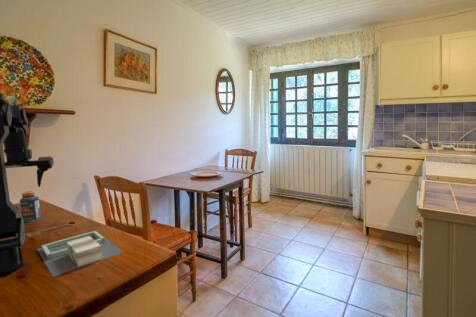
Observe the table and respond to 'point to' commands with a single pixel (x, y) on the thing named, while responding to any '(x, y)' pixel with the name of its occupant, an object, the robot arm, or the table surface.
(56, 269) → the mat
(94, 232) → the tray frame
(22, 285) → the table surface
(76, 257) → the card box
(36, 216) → the pill bottle
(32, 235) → the key
